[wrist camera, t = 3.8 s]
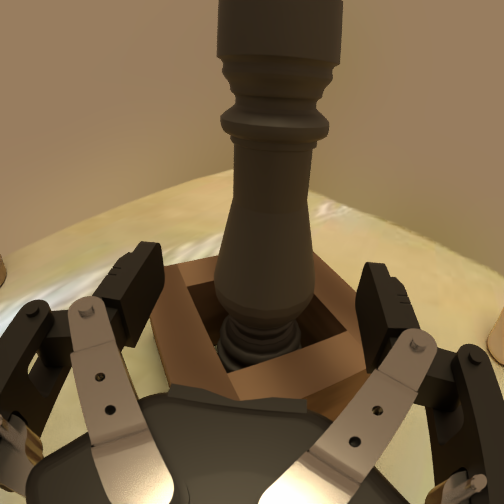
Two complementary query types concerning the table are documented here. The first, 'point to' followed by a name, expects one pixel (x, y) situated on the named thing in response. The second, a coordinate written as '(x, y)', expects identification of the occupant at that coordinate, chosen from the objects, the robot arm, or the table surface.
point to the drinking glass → (497, 339)
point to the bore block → (272, 371)
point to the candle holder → (271, 168)
